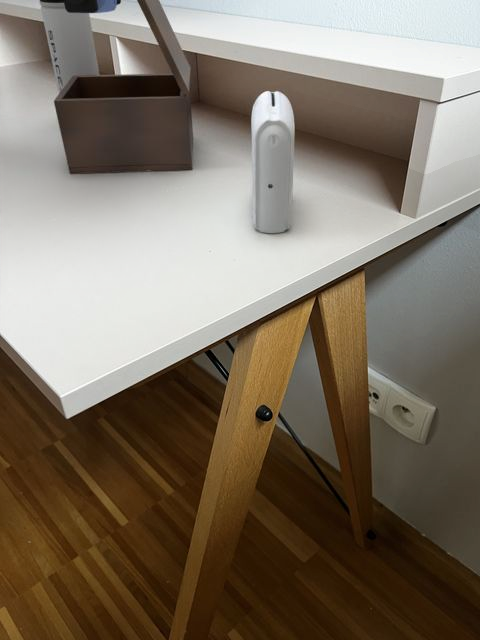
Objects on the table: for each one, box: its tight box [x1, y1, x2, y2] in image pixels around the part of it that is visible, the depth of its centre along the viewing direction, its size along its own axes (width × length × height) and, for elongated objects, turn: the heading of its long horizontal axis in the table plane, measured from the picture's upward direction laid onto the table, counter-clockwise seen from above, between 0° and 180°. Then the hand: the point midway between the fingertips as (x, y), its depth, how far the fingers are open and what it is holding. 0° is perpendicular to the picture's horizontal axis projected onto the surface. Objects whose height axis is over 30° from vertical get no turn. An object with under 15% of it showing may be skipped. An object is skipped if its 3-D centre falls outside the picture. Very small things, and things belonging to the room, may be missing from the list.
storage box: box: [53, 73, 194, 175], centre depth 74 cm, size 16×13×9 cm
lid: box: [136, 0, 192, 95], centre depth 66 cm, size 16×13×6 cm
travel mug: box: [39, 0, 100, 94], centre depth 80 cm, size 6×7×20 cm
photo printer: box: [250, 90, 296, 234], centre depth 58 cm, size 10×4×12 cm, turn 0°
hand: (94, 6), depth 56 cm, fingers closed on decorative dice, 4 cm apart
